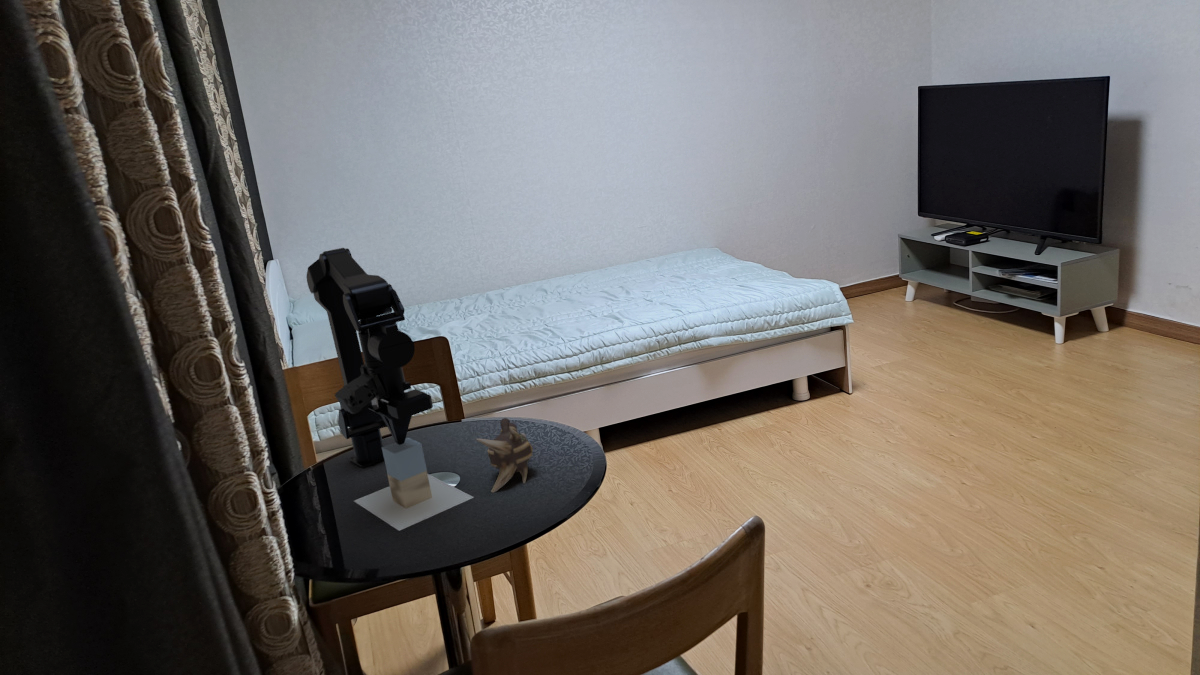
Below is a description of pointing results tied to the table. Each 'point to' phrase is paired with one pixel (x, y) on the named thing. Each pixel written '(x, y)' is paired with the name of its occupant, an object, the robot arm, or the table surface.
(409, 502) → the maple block
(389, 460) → the blue block
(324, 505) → the table surface
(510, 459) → the toy
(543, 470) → the table surface
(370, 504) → the board
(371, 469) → the table surface
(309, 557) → the table surface
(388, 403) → the robot arm
